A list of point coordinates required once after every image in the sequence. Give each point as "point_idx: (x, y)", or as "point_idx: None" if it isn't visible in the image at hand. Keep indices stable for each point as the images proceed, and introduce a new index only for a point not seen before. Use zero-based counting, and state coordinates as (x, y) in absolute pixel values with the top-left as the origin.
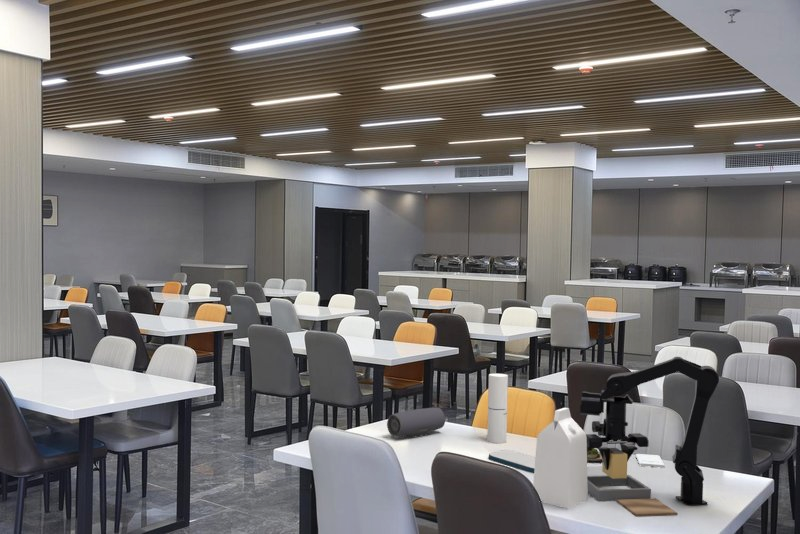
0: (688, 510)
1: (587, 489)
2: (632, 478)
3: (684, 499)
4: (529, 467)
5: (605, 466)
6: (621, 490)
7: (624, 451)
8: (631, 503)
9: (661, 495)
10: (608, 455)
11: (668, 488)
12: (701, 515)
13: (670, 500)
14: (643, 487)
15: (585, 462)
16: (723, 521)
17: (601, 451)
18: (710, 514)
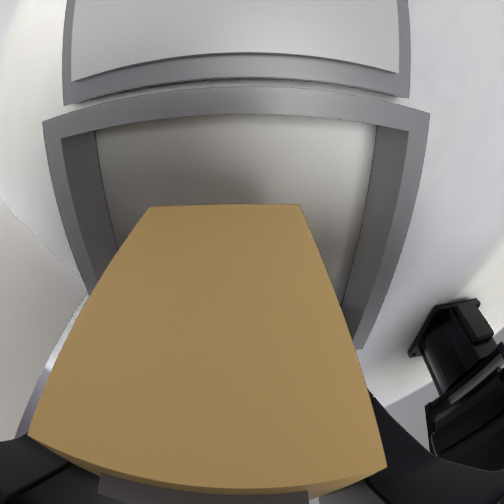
0: (379, 375)
1: (74, 312)
2: (404, 195)
3: (423, 345)
4: None
5: None
6: None
7: (336, 496)
8: None
9: (421, 278)
10: None
11: (494, 207)
12: (377, 391)
13: (405, 321)
14: (358, 319)
15: (20, 419)
16: (386, 403)
17: (51, 453)
18: (400, 385)
